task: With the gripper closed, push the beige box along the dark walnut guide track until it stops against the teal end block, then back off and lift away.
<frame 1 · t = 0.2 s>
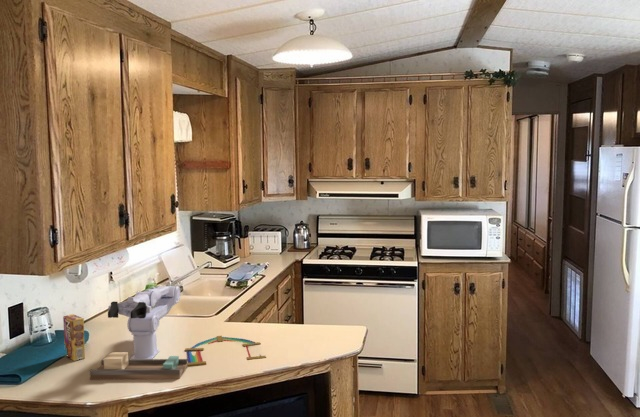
hand: (120, 315, 179), 21 cm above the counter, tool horizontal, fingers open, 7 cm apart
guide track: (140, 373, 184), on the counter
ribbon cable: (223, 349, 208), on the counter
beige box: (116, 361, 184), point 4 cm above the counter, slide at 0.0 cm
candy box: (75, 357, 200), on the counter
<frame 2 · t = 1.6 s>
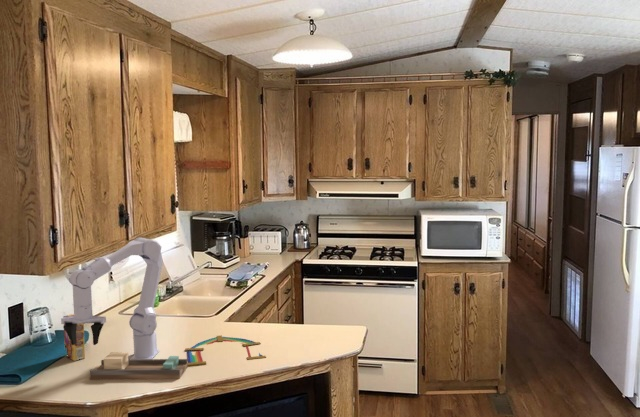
hand: (84, 344, 183), 10 cm above the counter, tool pointing down, fingers open, 7 cm apart
nothing on the counter moved.
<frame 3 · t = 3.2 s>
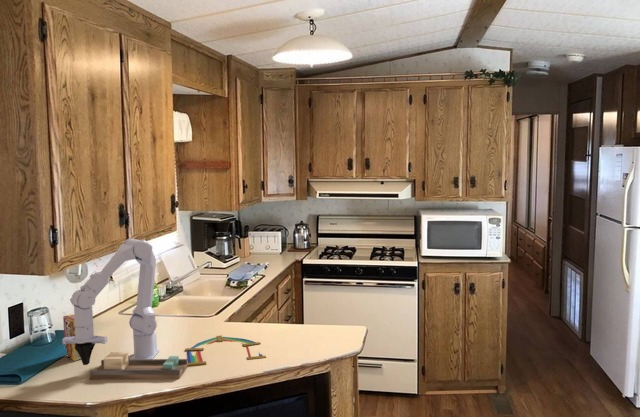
hand: (86, 363, 184), 3 cm above the counter, tool pointing down, fingers closed
nothing on the counter moved.
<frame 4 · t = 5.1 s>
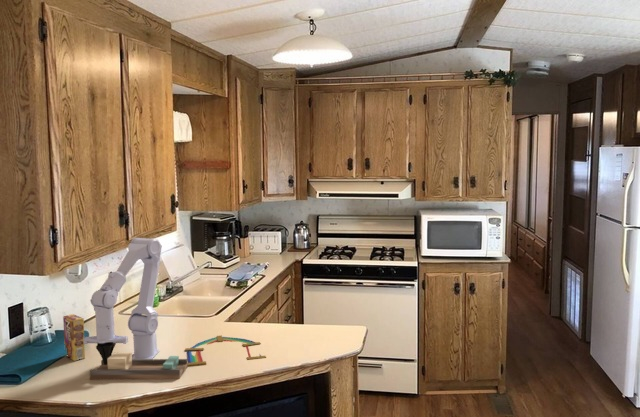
hand: (107, 363, 184), 3 cm above the counter, tool pointing down, fingers closed
beige box: (119, 361, 184), point 4 cm above the counter, slide at 1.3 cm, touching gripper
everything else where it was.
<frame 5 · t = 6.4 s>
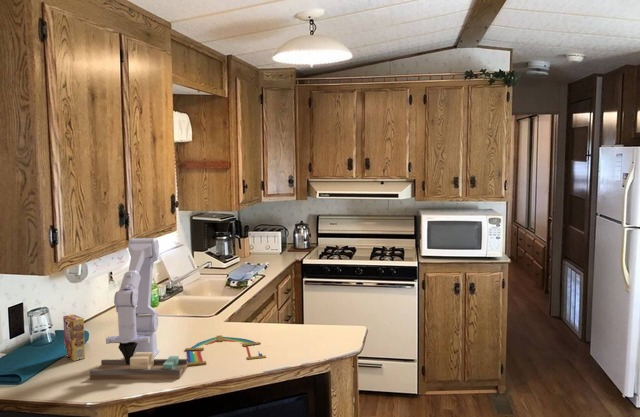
hand: (129, 363, 184), 3 cm above the counter, tool pointing down, fingers closed
beige box: (142, 361, 184), point 4 cm above the counter, slide at 8.9 cm, touching gripper
everything else where it was.
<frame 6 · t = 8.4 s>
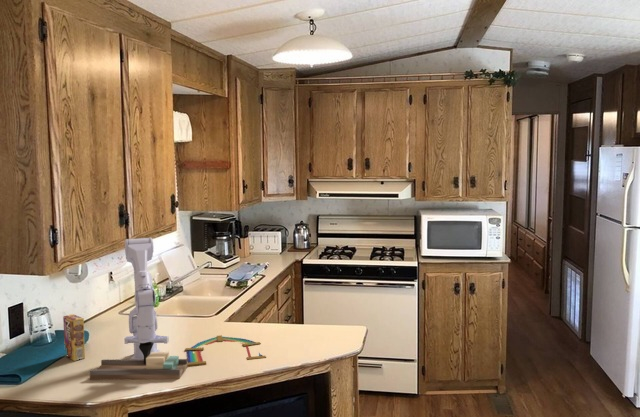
hand: (147, 363, 184), 3 cm above the counter, tool pointing down, fingers closed, pressing on beige box
beige box: (157, 361, 184), point 4 cm above the counter, slide at 14.3 cm, touching gripper, guide track
everything else where it was.
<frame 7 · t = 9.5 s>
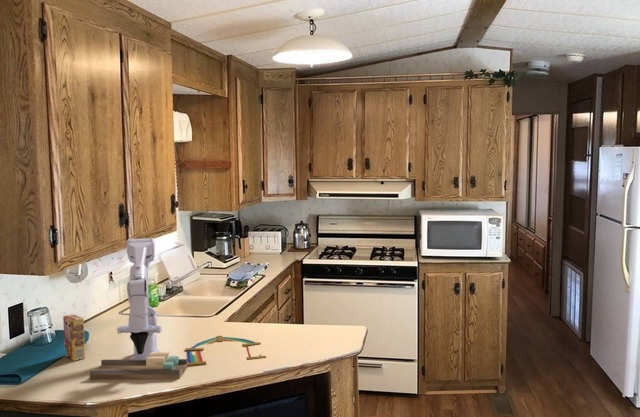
hand: (140, 353, 183), 7 cm above the counter, tool pointing down, fingers closed
beige box: (157, 361, 184), point 4 cm above the counter, slide at 14.3 cm, touching guide track
everything else where it was.
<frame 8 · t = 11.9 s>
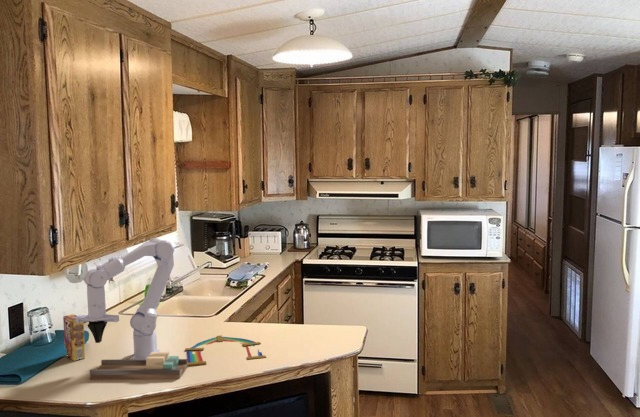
hand: (98, 341, 188), 9 cm above the counter, tool pointing down, fingers closed
nothing on the counter moved.
at the end: beige box slide at 14.3 cm; the gripper is holding nothing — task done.
